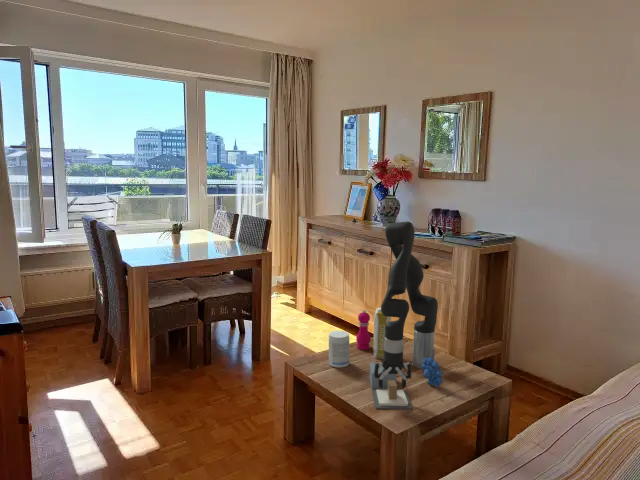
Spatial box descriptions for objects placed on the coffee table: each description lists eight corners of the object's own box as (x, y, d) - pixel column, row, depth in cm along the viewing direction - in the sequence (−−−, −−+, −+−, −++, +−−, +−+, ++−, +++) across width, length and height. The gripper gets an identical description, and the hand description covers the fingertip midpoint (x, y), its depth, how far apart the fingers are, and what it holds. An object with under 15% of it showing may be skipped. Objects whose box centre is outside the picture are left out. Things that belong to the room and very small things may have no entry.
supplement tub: (353, 364, 218) (354, 334, 216) (339, 370, 212) (339, 339, 209) (338, 358, 225) (338, 328, 223) (324, 363, 219) (324, 333, 216)
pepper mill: (371, 346, 240) (372, 308, 237) (368, 351, 234) (369, 312, 230) (358, 344, 243) (359, 306, 239) (354, 349, 236) (355, 311, 233)
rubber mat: (406, 391, 193) (406, 390, 192) (412, 409, 179) (412, 408, 179) (372, 391, 193) (372, 389, 193) (375, 408, 179) (375, 407, 179)
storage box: (392, 378, 204) (392, 363, 203) (395, 389, 195) (396, 373, 193) (369, 378, 205) (369, 362, 203) (371, 388, 195) (372, 373, 194)
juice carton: (373, 351, 233) (374, 305, 229) (389, 352, 232) (391, 306, 228) (372, 359, 224) (374, 311, 220) (389, 360, 223) (391, 311, 219)
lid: (403, 392, 191) (403, 377, 190) (408, 405, 180) (408, 390, 179) (376, 391, 191) (376, 376, 190) (379, 405, 180) (380, 389, 179)
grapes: (414, 381, 202) (415, 355, 200) (425, 378, 205) (427, 352, 203) (433, 393, 192) (435, 365, 190) (445, 389, 195) (447, 362, 193)
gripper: (410, 345, 186) (408, 383, 189) (374, 344, 186) (372, 382, 189) (413, 352, 178) (411, 392, 181) (376, 352, 179) (374, 391, 181)
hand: (392, 387), depth 185 cm, fingers open, 8 cm apart
